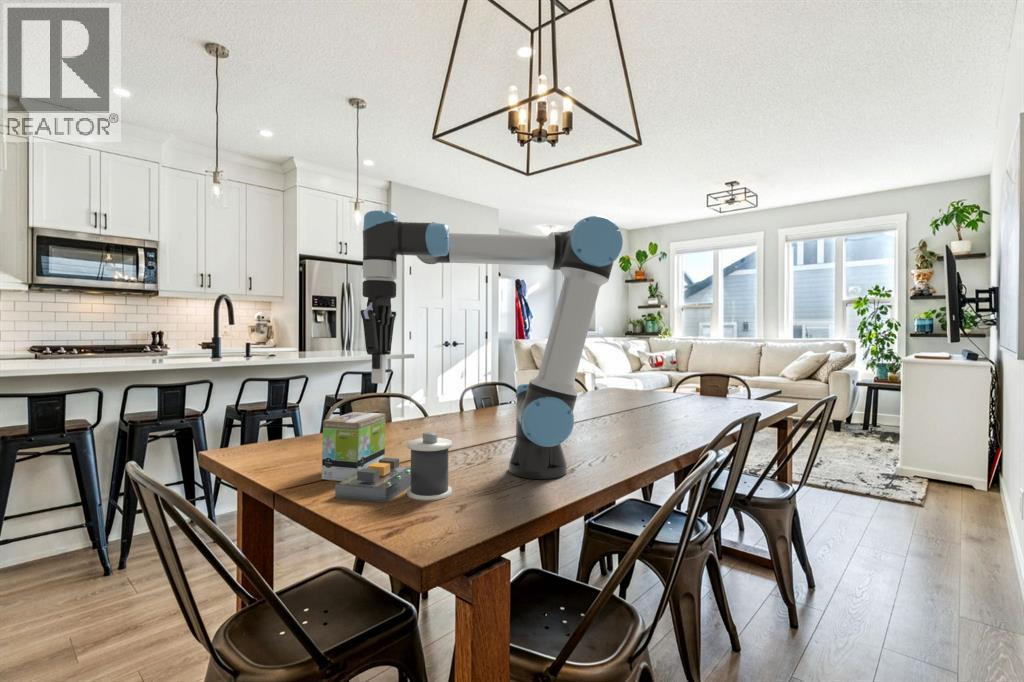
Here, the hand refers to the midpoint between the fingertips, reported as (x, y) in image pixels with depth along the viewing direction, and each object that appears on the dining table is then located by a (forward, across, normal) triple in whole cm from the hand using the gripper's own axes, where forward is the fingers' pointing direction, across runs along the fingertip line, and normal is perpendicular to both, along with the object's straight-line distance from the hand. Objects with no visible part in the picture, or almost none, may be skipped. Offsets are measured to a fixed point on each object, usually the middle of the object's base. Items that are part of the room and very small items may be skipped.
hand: (378, 382), depth 119 cm
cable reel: (+25, 0, +13) cm, 28 cm away
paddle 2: (+20, -5, 0) cm, 21 cm away
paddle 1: (+20, +5, 0) cm, 21 cm away
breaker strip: (+25, 0, 0) cm, 25 cm away
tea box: (+25, -10, -12) cm, 29 cm away
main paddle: (+20, 0, 0) cm, 20 cm away
